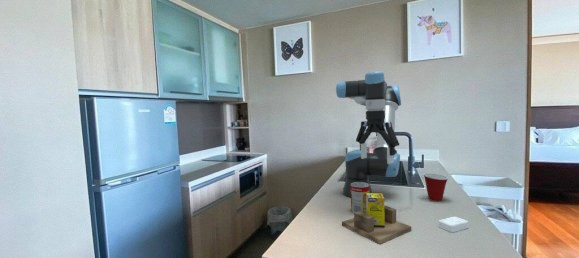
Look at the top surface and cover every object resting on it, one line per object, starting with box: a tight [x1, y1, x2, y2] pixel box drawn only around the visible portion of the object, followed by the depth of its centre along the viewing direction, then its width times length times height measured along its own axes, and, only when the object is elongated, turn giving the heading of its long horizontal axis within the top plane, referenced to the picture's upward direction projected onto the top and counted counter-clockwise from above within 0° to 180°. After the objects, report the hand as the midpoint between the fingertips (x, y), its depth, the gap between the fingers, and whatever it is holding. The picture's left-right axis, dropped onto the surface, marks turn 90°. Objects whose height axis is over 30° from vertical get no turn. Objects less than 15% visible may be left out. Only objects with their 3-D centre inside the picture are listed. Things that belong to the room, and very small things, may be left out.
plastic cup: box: [423, 172, 450, 202], centre depth 125 cm, size 11×11×12 cm
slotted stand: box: [341, 204, 412, 245], centre depth 97 cm, size 18×17×6 cm
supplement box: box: [366, 192, 385, 227], centre depth 97 cm, size 6×6×11 cm
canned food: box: [350, 182, 369, 214], centre depth 114 cm, size 8×8×12 cm
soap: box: [438, 216, 469, 233], centre depth 95 cm, size 9×6×3 cm, turn 111°
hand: (376, 160), depth 109 cm, fingers open, 13 cm apart
